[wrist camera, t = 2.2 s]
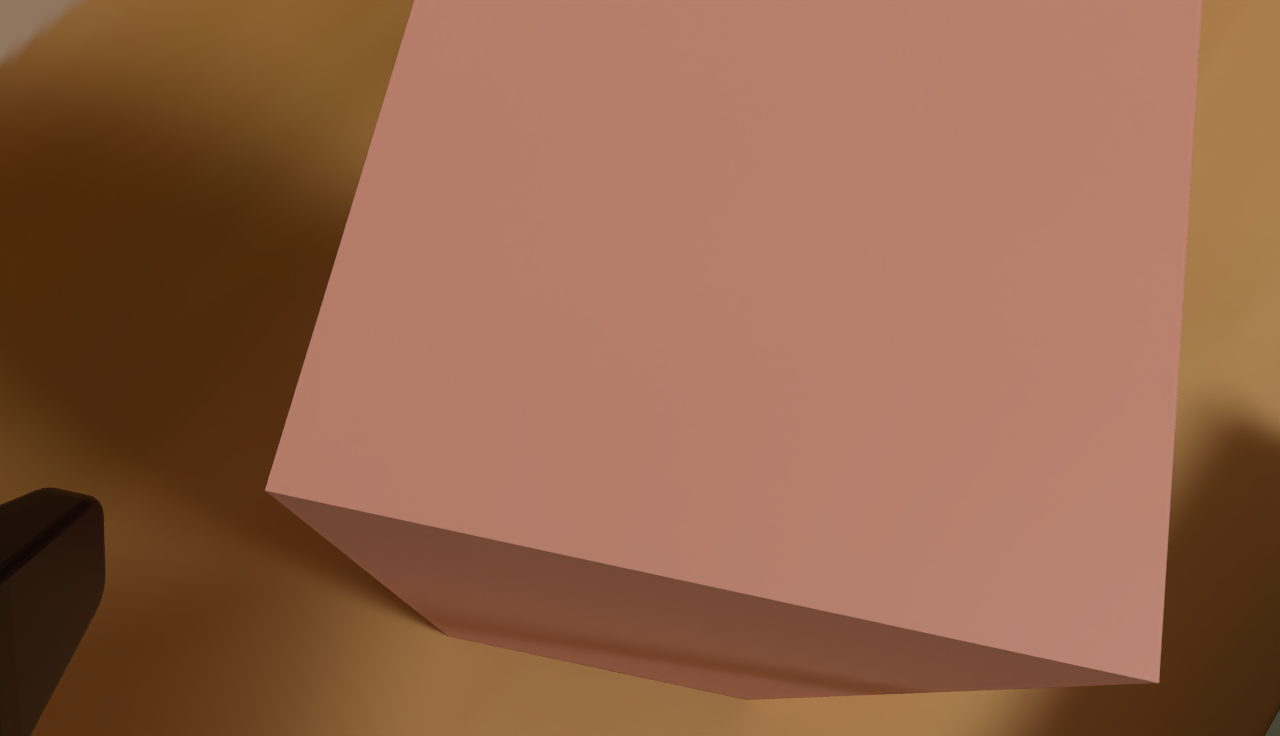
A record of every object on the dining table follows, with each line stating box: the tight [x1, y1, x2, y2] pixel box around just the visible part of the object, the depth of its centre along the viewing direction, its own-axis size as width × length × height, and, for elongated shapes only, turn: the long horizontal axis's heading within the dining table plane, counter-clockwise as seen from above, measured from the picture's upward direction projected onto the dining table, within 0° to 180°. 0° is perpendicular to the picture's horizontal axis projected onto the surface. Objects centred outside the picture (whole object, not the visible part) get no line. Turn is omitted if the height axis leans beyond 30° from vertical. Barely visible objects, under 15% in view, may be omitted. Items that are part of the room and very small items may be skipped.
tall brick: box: [265, 0, 1202, 700], centre depth 13 cm, size 5×5×13 cm
